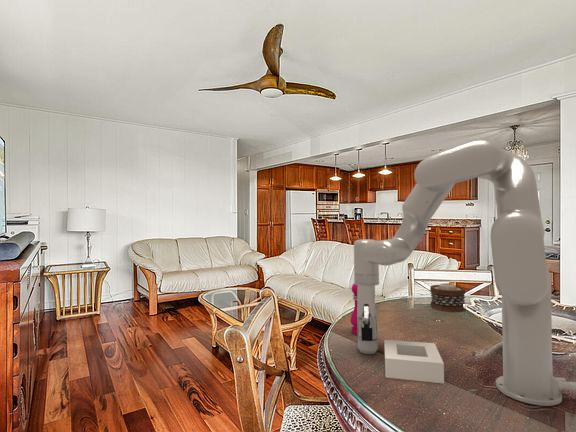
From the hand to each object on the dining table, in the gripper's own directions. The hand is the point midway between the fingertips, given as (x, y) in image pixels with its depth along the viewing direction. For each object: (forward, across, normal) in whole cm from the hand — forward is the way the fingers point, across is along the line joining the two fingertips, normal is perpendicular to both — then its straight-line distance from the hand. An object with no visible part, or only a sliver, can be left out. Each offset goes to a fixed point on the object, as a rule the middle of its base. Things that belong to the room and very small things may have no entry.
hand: (367, 336), depth 105 cm
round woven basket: (+5, -60, +34) cm, 69 cm away
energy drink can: (+5, 0, 0) cm, 5 cm away
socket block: (+5, +10, +12) cm, 16 cm away
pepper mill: (+5, -17, -3) cm, 18 cm away
